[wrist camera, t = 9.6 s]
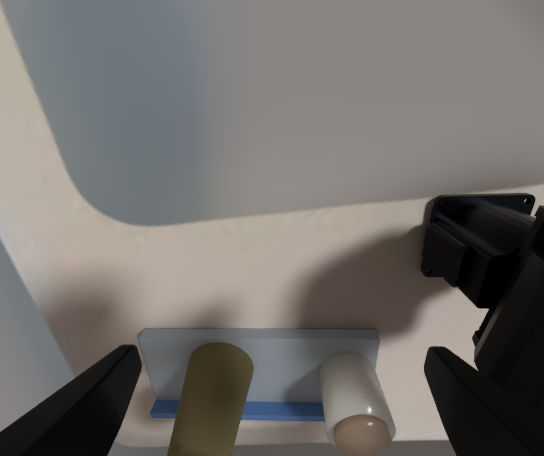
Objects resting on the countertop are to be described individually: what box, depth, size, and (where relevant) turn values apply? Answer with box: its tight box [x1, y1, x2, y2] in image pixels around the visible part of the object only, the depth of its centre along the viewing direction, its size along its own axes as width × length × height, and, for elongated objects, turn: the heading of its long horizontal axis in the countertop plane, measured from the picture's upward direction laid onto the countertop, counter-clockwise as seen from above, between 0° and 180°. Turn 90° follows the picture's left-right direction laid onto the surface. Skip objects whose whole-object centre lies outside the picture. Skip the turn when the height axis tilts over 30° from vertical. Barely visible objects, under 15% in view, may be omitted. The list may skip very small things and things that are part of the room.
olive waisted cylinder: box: [167, 342, 254, 456], centre depth 20 cm, size 6×6×11 cm
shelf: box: [138, 328, 380, 421], centre depth 25 cm, size 21×9×2 cm, turn 92°
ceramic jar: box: [319, 353, 396, 456], centre depth 22 cm, size 5×5×6 cm
